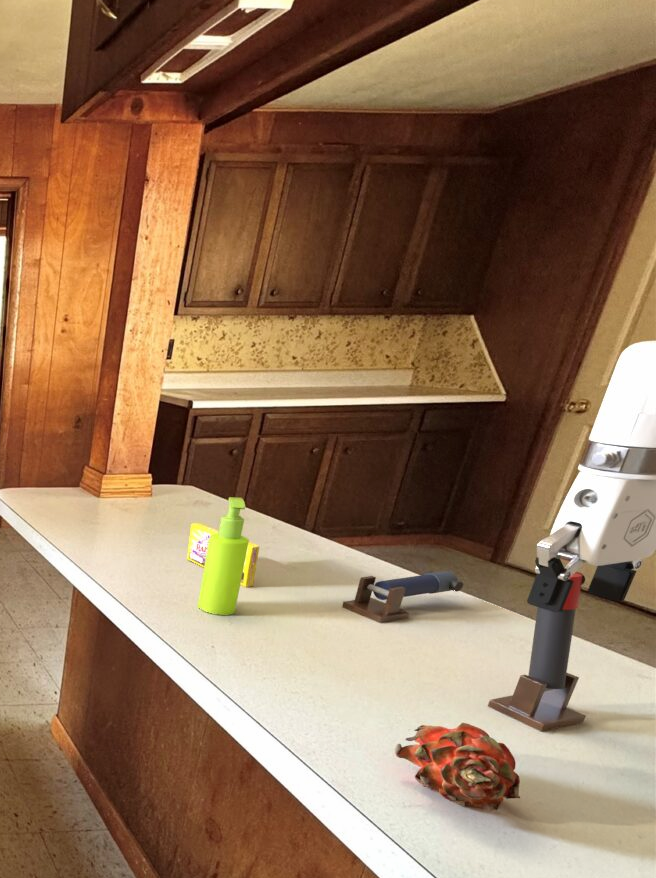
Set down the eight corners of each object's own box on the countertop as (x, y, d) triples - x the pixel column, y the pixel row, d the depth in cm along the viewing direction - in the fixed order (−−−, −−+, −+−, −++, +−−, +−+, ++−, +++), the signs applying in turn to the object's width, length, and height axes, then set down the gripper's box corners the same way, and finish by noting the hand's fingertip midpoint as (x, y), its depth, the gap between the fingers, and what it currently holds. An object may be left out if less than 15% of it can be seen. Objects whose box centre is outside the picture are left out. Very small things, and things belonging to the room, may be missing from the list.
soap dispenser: (199, 615, 114) (218, 503, 107) (196, 600, 120) (214, 493, 113) (237, 619, 112) (260, 505, 105) (232, 604, 118) (254, 495, 111)
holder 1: (369, 602, 117) (377, 573, 115) (408, 618, 111) (417, 587, 109) (341, 606, 116) (349, 577, 114) (379, 622, 109) (388, 592, 107)
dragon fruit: (477, 846, 66) (404, 784, 77) (570, 808, 63) (480, 749, 75) (433, 779, 65) (366, 727, 77) (525, 738, 63) (442, 690, 74)
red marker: (527, 574, 81) (563, 579, 77) (559, 569, 82) (595, 574, 78) (512, 689, 84) (546, 698, 80) (543, 682, 85) (578, 692, 81)
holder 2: (487, 706, 86) (500, 669, 84) (527, 697, 87) (542, 661, 85) (541, 731, 80) (557, 692, 78) (583, 722, 82) (600, 683, 80)
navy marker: (429, 585, 118) (434, 566, 116) (460, 595, 113) (466, 576, 112) (361, 595, 115) (366, 576, 113) (390, 606, 110) (395, 587, 109)
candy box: (184, 560, 140) (190, 523, 137) (193, 559, 140) (199, 522, 137) (244, 587, 125) (252, 546, 122) (253, 586, 126) (262, 545, 122)
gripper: (617, 473, 67) (557, 625, 73) (735, 459, 71) (668, 605, 77) (531, 460, 74) (483, 600, 80) (643, 448, 78) (588, 583, 84)
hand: (574, 602), depth 79 cm, fingers open, 9 cm apart
